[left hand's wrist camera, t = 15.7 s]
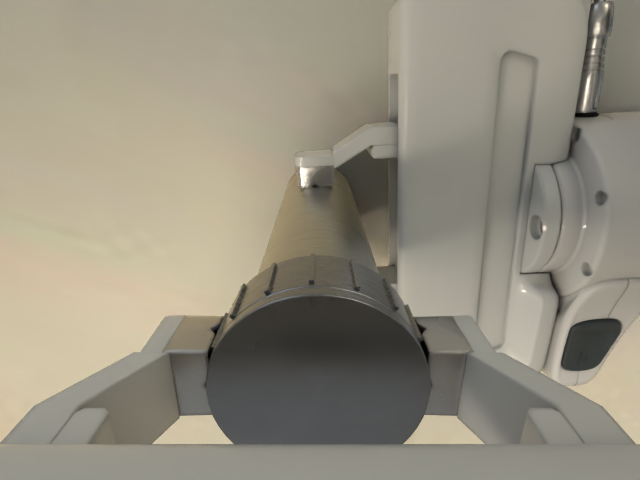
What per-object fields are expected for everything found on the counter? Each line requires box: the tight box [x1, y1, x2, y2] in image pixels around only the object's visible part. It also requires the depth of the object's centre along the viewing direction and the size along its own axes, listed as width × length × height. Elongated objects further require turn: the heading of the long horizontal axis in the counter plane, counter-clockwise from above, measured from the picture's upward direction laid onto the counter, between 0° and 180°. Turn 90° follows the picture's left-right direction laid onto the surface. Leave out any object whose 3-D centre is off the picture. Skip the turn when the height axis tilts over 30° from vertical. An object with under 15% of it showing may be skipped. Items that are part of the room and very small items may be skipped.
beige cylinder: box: [258, 169, 379, 274], centre depth 17 cm, size 4×4×17 cm
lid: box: [206, 253, 431, 444], centre depth 9 cm, size 5×5×2 cm
